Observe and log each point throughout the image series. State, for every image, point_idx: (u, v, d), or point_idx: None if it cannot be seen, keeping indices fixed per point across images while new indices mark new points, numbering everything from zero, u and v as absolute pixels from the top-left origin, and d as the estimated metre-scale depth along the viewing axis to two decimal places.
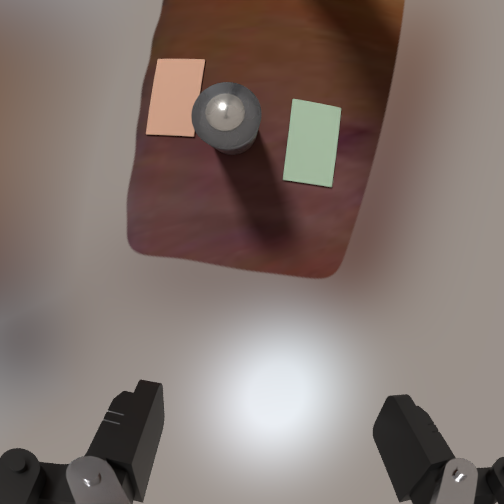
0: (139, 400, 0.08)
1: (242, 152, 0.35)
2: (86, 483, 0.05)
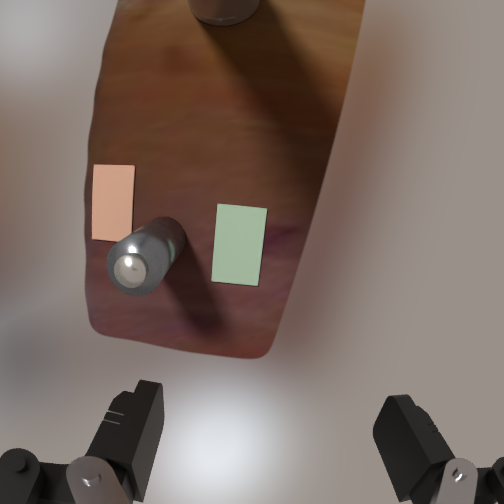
0: (139, 400, 0.08)
1: None
2: (86, 483, 0.05)
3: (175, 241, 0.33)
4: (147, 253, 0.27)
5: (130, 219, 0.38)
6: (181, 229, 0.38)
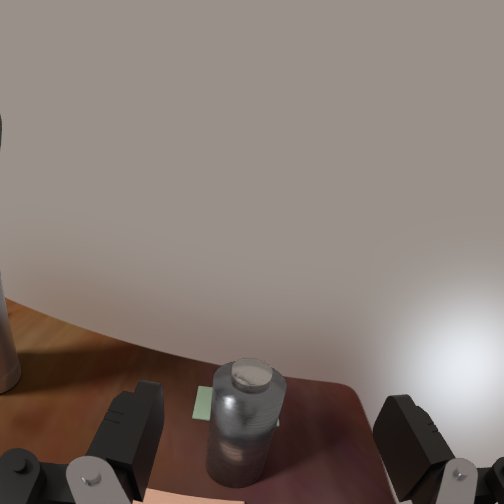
0: (139, 400, 0.08)
1: None
2: (86, 483, 0.05)
3: None
4: (230, 369, 0.24)
5: (209, 500, 0.21)
6: None
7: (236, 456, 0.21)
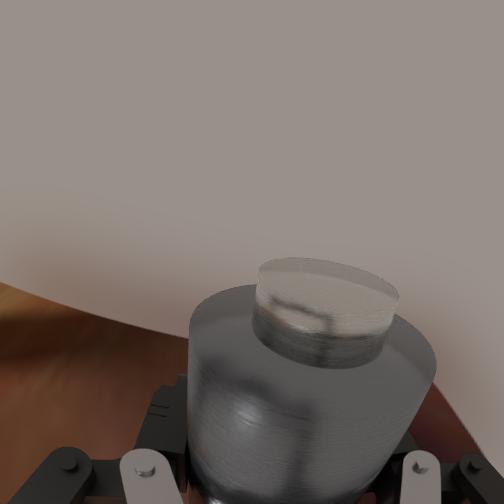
0: (182, 393, 0.09)
1: None
2: (142, 475, 0.05)
3: None
4: (247, 299, 0.08)
5: None
6: None
7: None
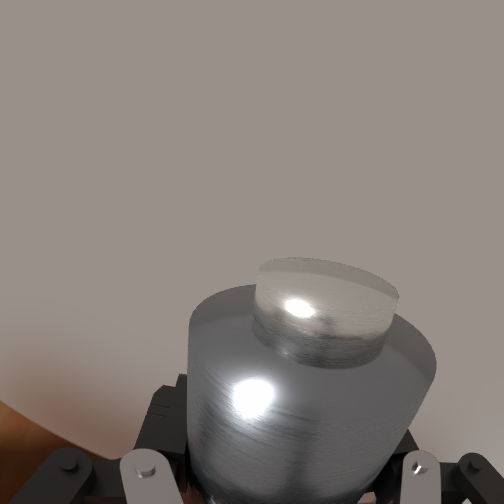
0: (182, 393, 0.09)
1: None
2: (143, 475, 0.05)
3: None
4: (247, 299, 0.08)
5: None
6: None
7: None
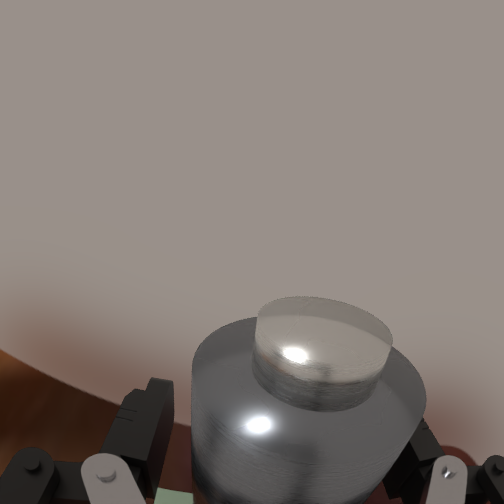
0: (151, 397, 0.08)
1: None
2: (102, 480, 0.05)
3: None
4: (247, 335, 0.08)
5: None
6: None
7: None
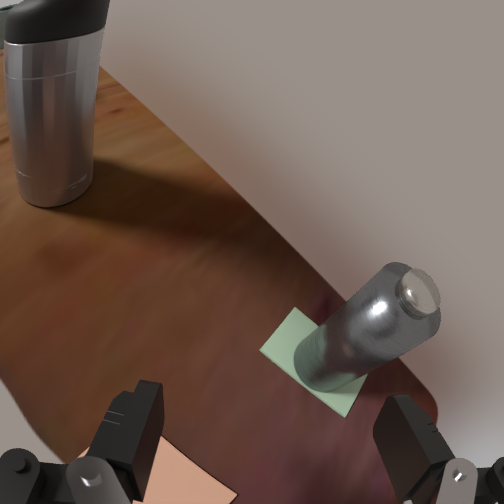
0: (139, 400, 0.08)
1: None
2: (86, 483, 0.05)
3: None
4: (399, 271, 0.19)
5: (202, 472, 0.18)
6: None
7: (340, 364, 0.21)
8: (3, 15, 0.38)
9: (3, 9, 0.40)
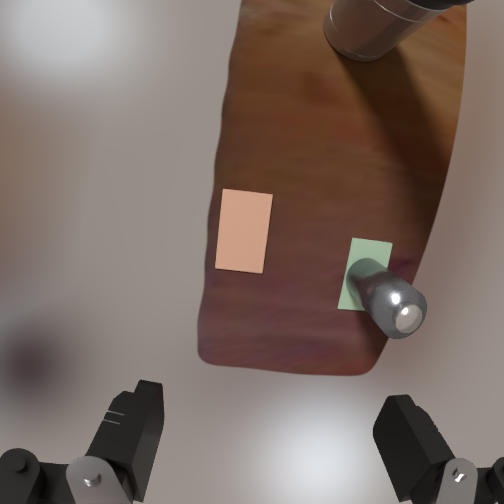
0: (139, 400, 0.08)
1: None
2: (86, 483, 0.05)
3: None
4: (418, 301, 0.28)
5: (264, 249, 0.39)
6: None
7: (360, 289, 0.35)
8: None
9: None
